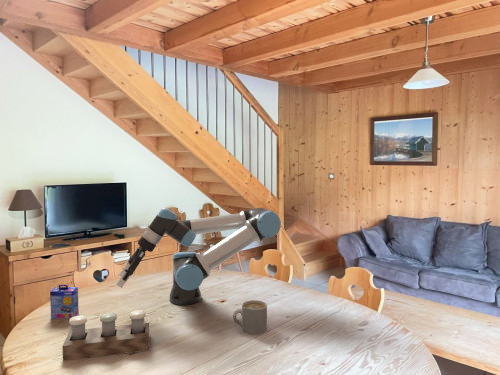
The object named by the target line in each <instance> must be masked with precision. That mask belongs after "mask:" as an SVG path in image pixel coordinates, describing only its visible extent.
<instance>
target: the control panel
mask: <svg viewBox="0 0 500 375" xmlns="http://www.w3.org/2000/svg"><path fill="white" fill-rule="evenodd" d="M61 348H62V361H71V360H80V359H88V358H94V357H95V358H96V357H103V356H105V357H106V356H113V355H120V354H131V353H137V352H138V353H139V352H146V351H148V352H149V351H150V322H144V332H143V333H139V334H132V323H131V324H124V325H123V324H121V325H115V335H114V336H111V337H102V326H101V327H92V328H85V339H83V340H72V329H71V330H69V331H68V334H66V337H65V339H64V342H63V344H62V347H61Z"/></svg>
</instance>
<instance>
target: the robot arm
mask: <svg viewBox="0 0 500 375" xmlns="http://www.w3.org/2000/svg"><path fill="white" fill-rule="evenodd" d="M177 217H178V215H177V214H176V213H175V212H173V211H172V210H170V209H169V208H167V207H162V208H161V209H160V211H159V212H158V213H157V214H156V215H155V217H154V219H153V220H152V221H151V222H150V224H149V226H148V227H147V228H145V229H144V230H145V231H144V232H143V235H141V236H140V238H139V239H138V241H137V245H138V246H139V247H137V248H136V250H135V252H133V254H132V256H130V257H129V259H128V260H127V262H126V264H125V265H124V267H123V268H122V269H121V271H120V272H119V273H118V276H119V277H120V278H119V279H118V281H117V283H115V285H116V286H118V287H119V288H121V289H122V288H123V287H125V286H124V285H126V283H127V281H128V280H129V279H130V278H131V276H132V275H134V273H135V271H136V270H137V268H138V266H140V263H141V262H142V260H143V259H144V257H145V256H146V252H149V253H153V251H154V250H155V248H156V247H157V245H159V243H160V241H161V240H162V239H163V238H164V236H165V235H167V236H169V237H170V238H172V239H173V240H175V241H176V242H177V243H179V244H180V245H182V246H184V247H186V248H188V247H191V245H192V244H193V242H194V241H195V239H196V238H197V235H203V234H210V233H216V232H217V233H219V232H225V231H232V230H236V231H234V232H233V233H232V234H229V235H228V236H227V237H225V238H224V239H222V240H221V241H219V242H218V243H216V244H215V245H213V246H211V247H210V248H209V249H207V250H205V251H204V252H202V253H201V254H199V253H197V252H196V251H180V252H174V253H173V254H172V255H173V256H172V287H171V290H170V292H169V302H170V303H172V304H175V305H178V306H179V305H180V306H183V305H184V306H185V305H187V306H188V305H193V304H196V303H198V302H200V301H201V300H202V292H201V290H200V289H201V288H200V287H201V285H202V283H203V281H205V279H207V278H209V276H211V272H212V271H213V270H214V269H215V268H217V267H219V266H220V265H222V264H223V263H224V262H227V261H228V260H229V259H231V257H234V256H236V255H237V254H238V253H239V252H241V251H242V250H244V249H245V248H247V247H249V246H251V244H253V243H254V242H256V243H257V242H258V243H260V242H262V241H263V240H265V239H266V238H273V237H275V236H277V234H279V232H280V231H281V227H282V220H281V219H280V216H279V215H278V213H276V212H275V211H273V210H270V209H267V208H265V207H256V208H251V209H245V210H241V211H240V212H239V213H232V214H224V215H217V216H208V217H207V216H206V217H202V218H201V217H200V218H193V219H186V220H182V219H177Z"/></svg>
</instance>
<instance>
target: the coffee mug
mask: <svg viewBox="0 0 500 375" xmlns="http://www.w3.org/2000/svg"><path fill="white" fill-rule="evenodd" d="M238 314H241V318H240V319H237V315H238ZM232 319H233V322H234V323H235V324H237V325H239V326H241V330H242V332H243V333H244V334H247V335H250V336H251V335H252V336H257V335H262V334H265V333H266V332H267V330H268V304H267V303H266V302H265V301H262V300H255V299H254V300H253V299H251V300H247V301H246V300H245V301H244V302H243V303H242V304H241V308H237V309H235V310H234V311H233V315H232Z"/></svg>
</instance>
